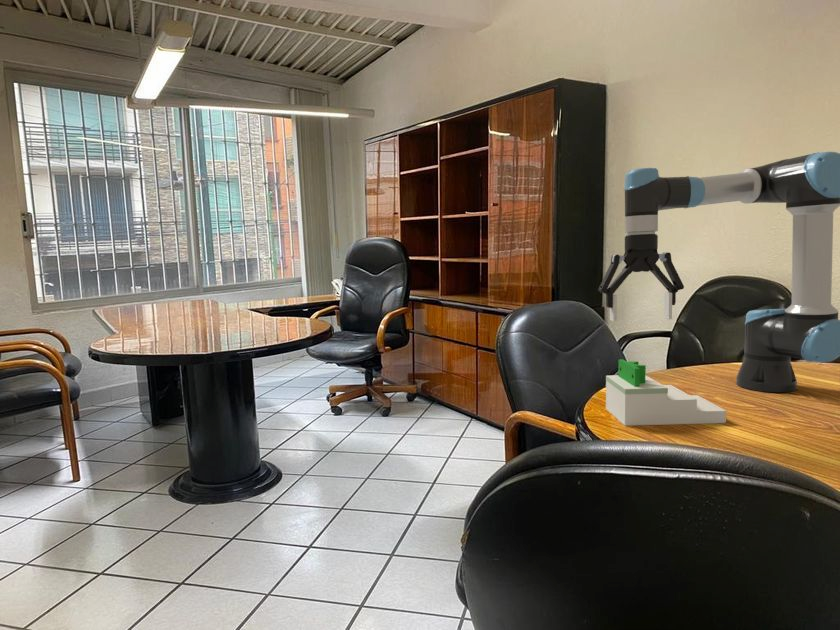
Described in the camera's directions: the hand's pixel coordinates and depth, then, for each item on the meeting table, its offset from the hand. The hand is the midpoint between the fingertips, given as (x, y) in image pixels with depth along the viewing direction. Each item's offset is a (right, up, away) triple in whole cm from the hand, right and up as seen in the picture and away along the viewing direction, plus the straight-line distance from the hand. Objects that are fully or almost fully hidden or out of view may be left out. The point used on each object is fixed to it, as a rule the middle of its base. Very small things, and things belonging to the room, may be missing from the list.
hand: (640, 319), depth 135 cm
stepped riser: (+6, -24, +2) cm, 25 cm away
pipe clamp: (-1, -16, +1) cm, 16 cm away
